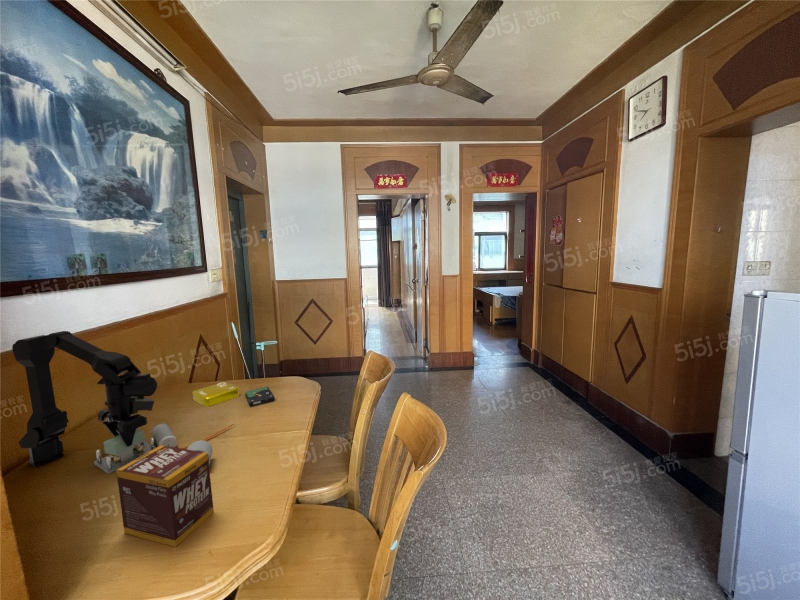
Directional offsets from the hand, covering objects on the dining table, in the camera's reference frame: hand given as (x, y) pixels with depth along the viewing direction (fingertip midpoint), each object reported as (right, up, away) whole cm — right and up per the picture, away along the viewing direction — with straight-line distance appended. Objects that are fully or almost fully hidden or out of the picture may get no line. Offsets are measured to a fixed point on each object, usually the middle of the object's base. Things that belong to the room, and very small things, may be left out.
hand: (125, 443), depth 103 cm
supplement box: (+33, -7, -26) cm, 43 cm away
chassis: (0, -5, +1) cm, 5 cm away
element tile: (+3, 0, +46) cm, 46 cm away
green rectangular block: (0, -1, 0) cm, 1 cm away
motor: (+12, -3, +15) cm, 20 cm away
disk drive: (+24, 0, +44) cm, 50 cm away
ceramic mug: (+26, -5, -7) cm, 27 cm away
